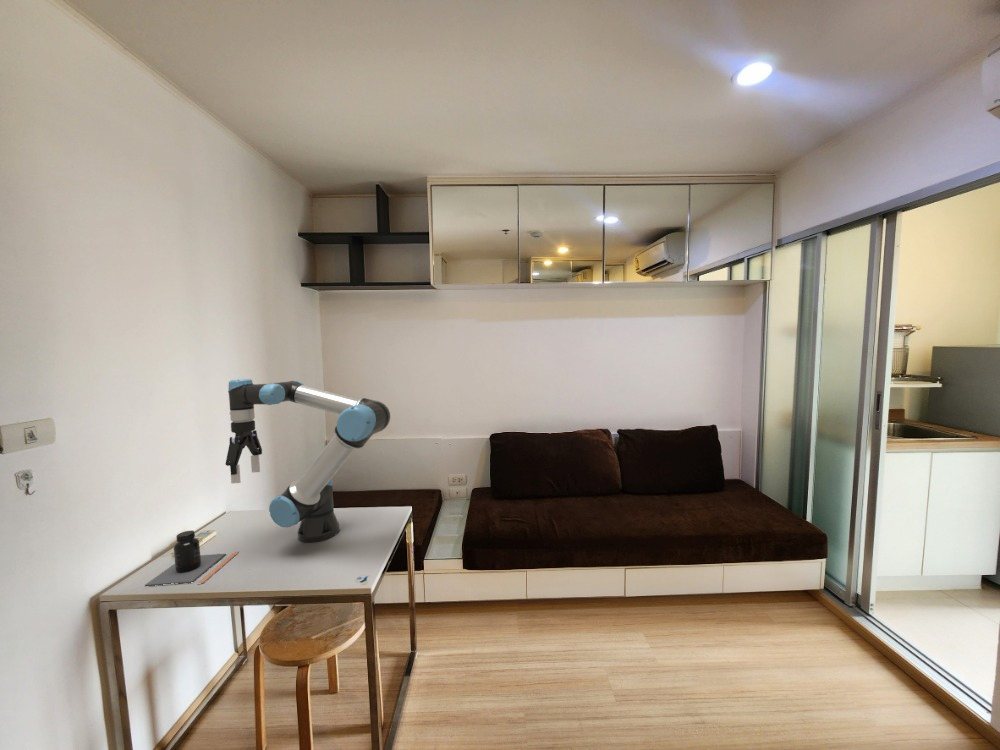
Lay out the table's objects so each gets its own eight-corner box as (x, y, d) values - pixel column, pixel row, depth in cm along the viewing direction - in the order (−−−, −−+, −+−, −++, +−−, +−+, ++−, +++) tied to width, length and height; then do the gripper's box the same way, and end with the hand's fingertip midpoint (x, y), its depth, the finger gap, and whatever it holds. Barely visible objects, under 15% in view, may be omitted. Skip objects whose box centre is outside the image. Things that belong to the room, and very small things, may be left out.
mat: (226, 555, 144) (225, 553, 144) (192, 583, 126) (192, 581, 126) (184, 558, 143) (184, 556, 143) (144, 586, 125) (144, 584, 125)
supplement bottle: (194, 561, 139) (192, 527, 139) (205, 565, 136) (202, 531, 136) (171, 570, 133) (168, 535, 133) (181, 575, 130) (179, 539, 130)
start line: (238, 553, 146) (238, 551, 146) (202, 584, 126) (202, 582, 126) (234, 553, 145) (234, 552, 145) (197, 584, 126) (197, 583, 126)
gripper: (250, 416, 160) (253, 468, 161) (210, 427, 135) (214, 488, 136) (269, 415, 160) (272, 467, 161) (234, 426, 135) (238, 487, 136)
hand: (246, 477), depth 149 cm, fingers open, 13 cm apart
